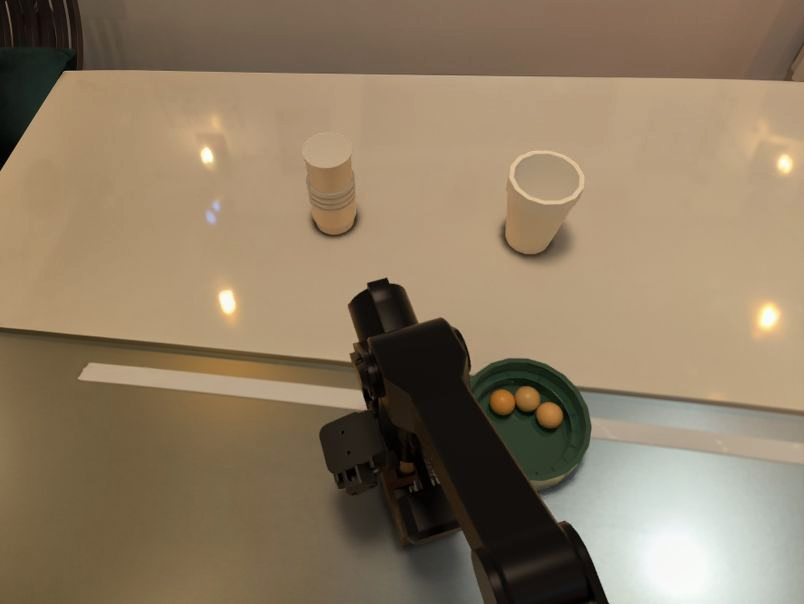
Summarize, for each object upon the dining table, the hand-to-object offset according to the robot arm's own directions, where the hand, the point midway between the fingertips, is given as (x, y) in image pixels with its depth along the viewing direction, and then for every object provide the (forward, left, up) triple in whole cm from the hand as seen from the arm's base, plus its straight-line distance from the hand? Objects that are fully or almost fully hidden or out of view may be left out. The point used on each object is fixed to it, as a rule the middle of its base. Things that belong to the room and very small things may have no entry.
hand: (406, 461), depth 67 cm
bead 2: (+4, -16, -3) cm, 17 cm away
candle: (+39, -2, -5) cm, 39 cm away
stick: (0, 0, -5) cm, 5 cm away
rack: (0, 0, -5) cm, 5 cm away
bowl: (+1, -14, -5) cm, 15 cm away
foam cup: (+27, -28, -5) cm, 39 cm away
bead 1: (+4, -13, -3) cm, 14 cm away
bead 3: (+1, -18, -3) cm, 18 cm away
